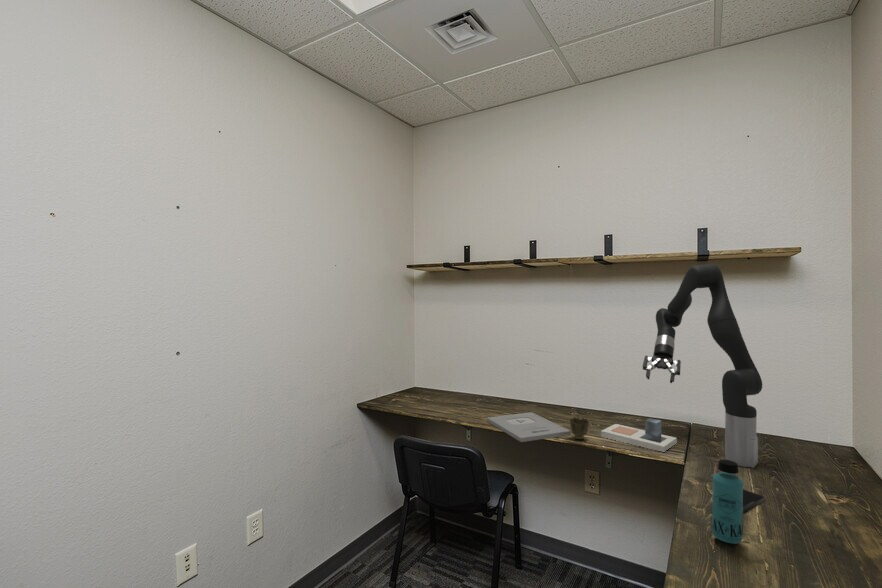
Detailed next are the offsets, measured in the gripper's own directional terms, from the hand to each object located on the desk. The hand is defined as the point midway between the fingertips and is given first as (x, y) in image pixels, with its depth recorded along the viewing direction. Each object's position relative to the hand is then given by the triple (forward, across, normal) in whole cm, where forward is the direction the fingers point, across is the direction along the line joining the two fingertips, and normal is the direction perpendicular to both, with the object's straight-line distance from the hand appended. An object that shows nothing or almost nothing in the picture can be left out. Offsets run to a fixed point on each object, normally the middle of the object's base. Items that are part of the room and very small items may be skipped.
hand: (659, 380), depth 180 cm
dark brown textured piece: (+32, -26, +2) cm, 42 cm away
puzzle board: (+24, -6, +10) cm, 26 cm away
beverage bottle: (+65, +23, -42) cm, 81 cm away
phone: (+48, +27, -22) cm, 59 cm away
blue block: (+25, 0, +8) cm, 26 cm away
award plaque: (+32, -50, +5) cm, 60 cm away
